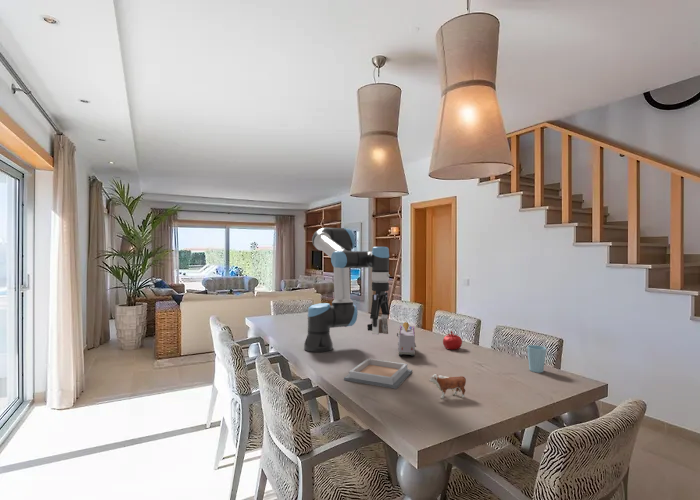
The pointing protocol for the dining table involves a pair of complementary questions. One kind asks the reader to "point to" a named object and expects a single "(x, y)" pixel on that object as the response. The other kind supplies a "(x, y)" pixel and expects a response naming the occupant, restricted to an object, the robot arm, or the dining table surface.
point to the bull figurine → (449, 384)
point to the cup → (536, 358)
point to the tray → (379, 373)
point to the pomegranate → (452, 341)
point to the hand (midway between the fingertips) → (380, 331)
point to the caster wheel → (380, 326)
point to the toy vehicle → (406, 340)
